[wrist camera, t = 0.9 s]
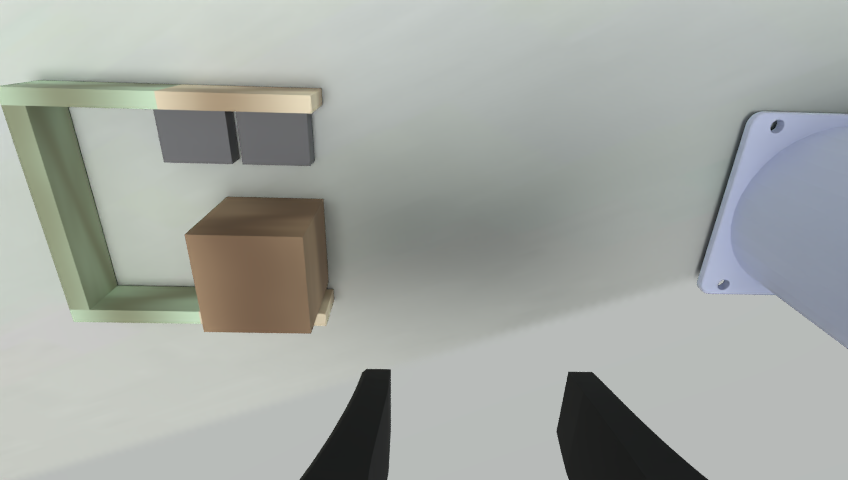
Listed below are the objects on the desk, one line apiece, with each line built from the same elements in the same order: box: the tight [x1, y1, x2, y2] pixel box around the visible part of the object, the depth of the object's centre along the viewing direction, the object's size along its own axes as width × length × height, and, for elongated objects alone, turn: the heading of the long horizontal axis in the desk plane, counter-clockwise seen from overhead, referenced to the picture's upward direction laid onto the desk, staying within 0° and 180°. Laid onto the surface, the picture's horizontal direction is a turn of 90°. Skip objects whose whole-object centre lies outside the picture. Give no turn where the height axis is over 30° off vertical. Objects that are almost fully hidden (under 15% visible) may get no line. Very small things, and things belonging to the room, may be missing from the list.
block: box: [185, 197, 329, 333], centre depth 19 cm, size 4×4×4 cm
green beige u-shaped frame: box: [0, 80, 334, 326], centre depth 19 cm, size 10×9×2 cm
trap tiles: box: [153, 109, 314, 166], centre depth 18 cm, size 6×2×1 cm, turn 88°
